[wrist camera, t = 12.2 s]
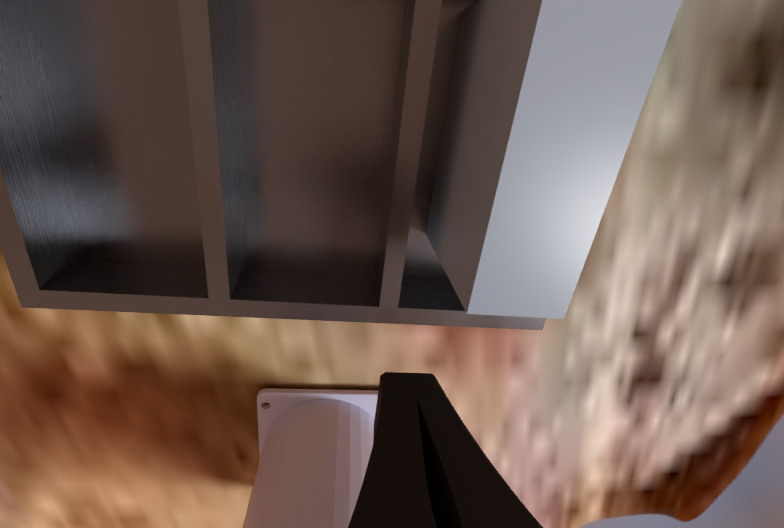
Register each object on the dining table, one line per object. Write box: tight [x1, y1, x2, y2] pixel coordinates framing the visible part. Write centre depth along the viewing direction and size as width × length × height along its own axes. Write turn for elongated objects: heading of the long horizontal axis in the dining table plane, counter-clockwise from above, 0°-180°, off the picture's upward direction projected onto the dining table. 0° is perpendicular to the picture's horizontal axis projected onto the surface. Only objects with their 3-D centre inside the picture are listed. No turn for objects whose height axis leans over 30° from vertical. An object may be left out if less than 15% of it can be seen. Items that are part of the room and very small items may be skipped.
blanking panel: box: [426, 0, 682, 319], centre depth 13 cm, size 9×3×7 cm, turn 173°
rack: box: [0, 0, 546, 330], centre depth 14 cm, size 14×21×4 cm, turn 83°
